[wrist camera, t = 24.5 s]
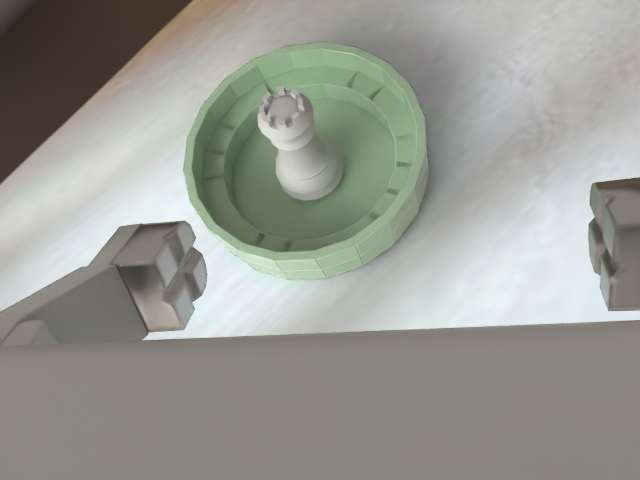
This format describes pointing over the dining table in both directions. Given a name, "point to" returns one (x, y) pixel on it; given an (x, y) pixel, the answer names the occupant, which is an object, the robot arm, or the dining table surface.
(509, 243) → the dining table surface
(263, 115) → the rook chess piece
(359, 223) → the bowl
